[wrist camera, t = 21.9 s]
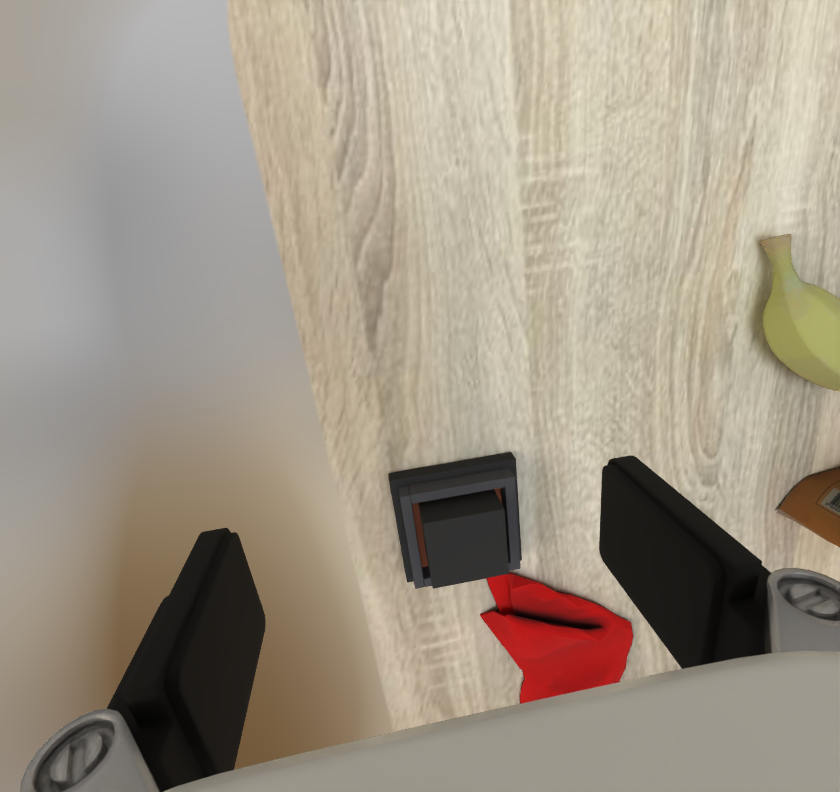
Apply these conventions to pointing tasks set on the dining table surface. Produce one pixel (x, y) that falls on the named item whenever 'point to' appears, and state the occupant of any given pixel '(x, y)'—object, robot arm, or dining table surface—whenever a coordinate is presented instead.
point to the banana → (801, 320)
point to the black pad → (464, 538)
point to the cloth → (557, 638)
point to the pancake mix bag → (816, 504)
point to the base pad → (449, 483)
